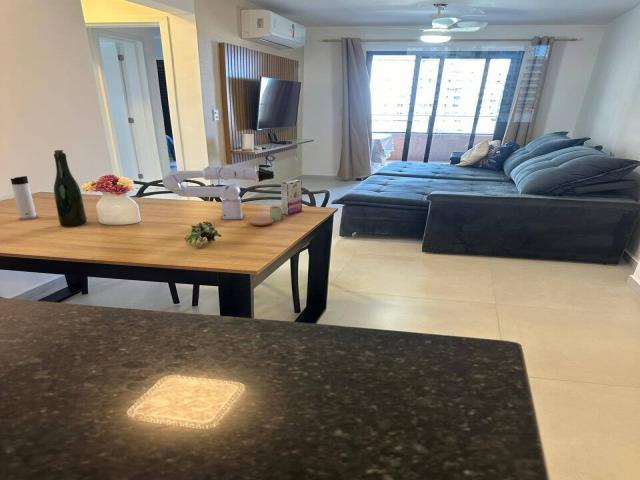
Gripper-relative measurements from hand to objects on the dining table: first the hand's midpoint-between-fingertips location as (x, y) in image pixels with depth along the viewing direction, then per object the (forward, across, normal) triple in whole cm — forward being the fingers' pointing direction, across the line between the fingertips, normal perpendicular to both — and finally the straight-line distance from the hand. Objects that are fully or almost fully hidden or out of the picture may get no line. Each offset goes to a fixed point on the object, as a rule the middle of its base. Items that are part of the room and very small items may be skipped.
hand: (273, 175), depth 184 cm
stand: (-5, -12, +21) cm, 25 cm away
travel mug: (-115, +6, +27) cm, 118 cm away
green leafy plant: (-28, -40, +24) cm, 54 cm away
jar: (+2, -5, +21) cm, 21 cm away
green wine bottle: (-89, -6, +26) cm, 93 cm away
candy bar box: (+10, +7, +20) cm, 24 cm away
